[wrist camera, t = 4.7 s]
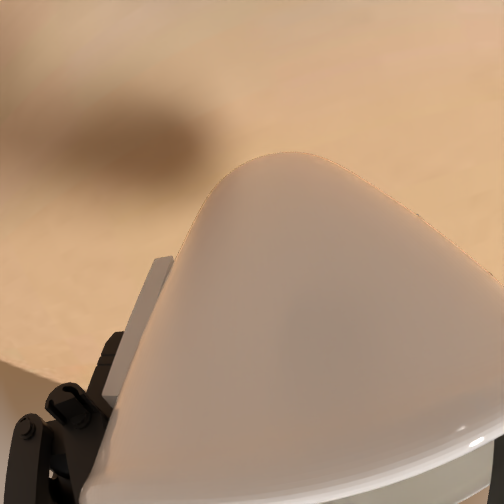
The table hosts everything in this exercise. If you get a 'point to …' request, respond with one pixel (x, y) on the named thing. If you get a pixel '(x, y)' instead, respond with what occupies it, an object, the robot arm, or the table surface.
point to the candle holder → (309, 354)
